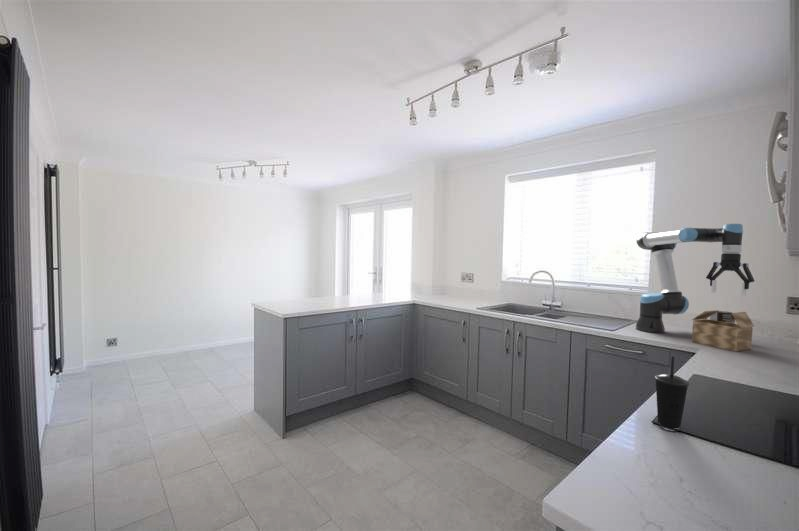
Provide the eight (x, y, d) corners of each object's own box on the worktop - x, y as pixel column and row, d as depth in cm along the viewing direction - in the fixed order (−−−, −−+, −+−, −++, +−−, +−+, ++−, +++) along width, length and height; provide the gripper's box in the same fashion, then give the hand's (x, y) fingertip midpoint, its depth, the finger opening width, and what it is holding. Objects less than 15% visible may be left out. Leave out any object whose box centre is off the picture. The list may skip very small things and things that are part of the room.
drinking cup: (645, 420, 103) (649, 352, 102) (673, 421, 102) (678, 353, 101) (662, 433, 95) (667, 360, 94) (693, 435, 94) (698, 362, 94)
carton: (691, 341, 197) (693, 320, 197) (705, 340, 202) (706, 319, 202) (737, 351, 179) (739, 328, 178) (751, 349, 184) (752, 326, 183)
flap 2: (731, 313, 181) (732, 312, 181) (744, 312, 186) (745, 311, 186) (740, 328, 178) (741, 328, 178) (753, 326, 183) (754, 326, 183)
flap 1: (718, 310, 197) (718, 310, 197) (705, 311, 191) (704, 311, 192) (705, 318, 202) (705, 318, 202) (692, 320, 197) (691, 319, 197)
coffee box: (716, 340, 202) (718, 312, 202) (708, 337, 209) (709, 310, 208) (734, 341, 201) (736, 313, 201) (724, 338, 208) (726, 311, 207)
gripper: (699, 252, 196) (697, 291, 197) (758, 253, 174) (754, 297, 175) (707, 252, 199) (704, 290, 200) (765, 253, 177) (762, 296, 178)
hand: (728, 293), depth 188 cm, fingers open, 12 cm apart
